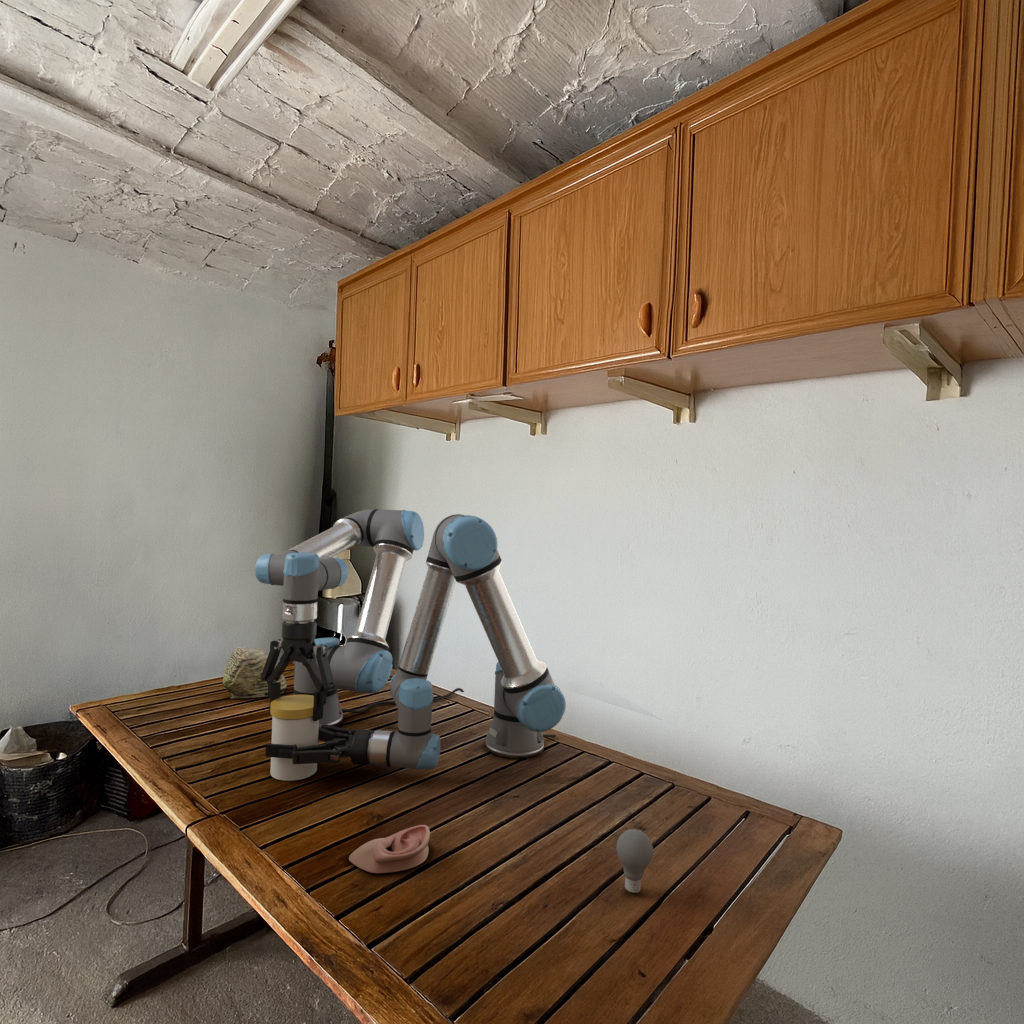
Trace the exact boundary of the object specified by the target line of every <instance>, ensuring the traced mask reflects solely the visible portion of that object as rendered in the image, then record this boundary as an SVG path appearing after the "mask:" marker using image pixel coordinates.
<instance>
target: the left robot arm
mask: <svg viewBox="0 0 1024 1024" xmlns="http://www.w3.org/2000/svg"><path fill="white" fill-rule="evenodd" d="M424 542H425V526H424V522H423V519H422V517H421V515H420V514H419V513H418V512H416V511H414V510H413V511H412V510H406V509H402V510H401V509H382V508H381V509H380V508H366V509H363V510H359V511H357V512H354V513H350V514H348V515H346V516H344V517H342V518H339V519H338V520H336V521H335V522H334V523H333V525H332V527H330V528H328V529H326V530H324V531H322V532H320V533H318V534H316V535H314V536H313V537H310V538H308V539H306V540H305V541H302V542H300V543H298V544H297V545H294V546H292V547H290V548H289V549H287V550H285V551H283V552H281V553H278V554H277V553H276V554H275V553H264V554H262V555H260V556H259V557H258V559H257V560H256V562H255V566H254V576H255V578H256V579H257V581H258V582H259V583H261V584H266V585H270V586H281V587H283V598H282V620H284V621H282V623H281V638H282V639H281V638H277V639H274V640H271V641H270V643H269V652H268V654H267V655H268V657H267V660H266V663H265V666H264V669H263V672H262V674H261V677H260V679H261V680H262V681H266V682H267V684H268V696H267V698H269V707H270V706H271V702H272V701H273V700H275V699H277V698H280V697H281V693H280V691H281V683H279V682H278V683H276V682H277V681H279V678H280V676H281V675H283V673H284V672H285V671H286V669H287V668H288V666H289V664H290V663H291V662H294V672H293V695H312V696H314V705H313V721H318V720H319V727H321V725H323V724H324V725H330V726H335V727H339V726H340V725H342V723H343V722H344V713H351V714H360V713H364V712H366V711H367V710H368V709H370V708H372V707H376V706H381V705H396V703H395V701H394V700H385V701H384V700H383V701H376V702H372V703H370V704H368V705H367V706H365V707H363V708H361V709H350V708H342V706H341V702H340V699H339V695H338V690H339V691H340V690H341V691H347V692H354V693H357V694H358V693H359V694H376V693H378V692H380V691H381V690H382V689H383V688H384V687H385V685H386V684H387V683H388V681H389V679H390V676H391V675H392V670H393V665H394V664H393V655H392V653H391V652H390V651H389V649H390V646H389V644H388V643H387V641H386V638H387V634H388V630H389V626H390V622H391V619H392V614H393V610H394V607H395V603H396V599H397V596H398V592H399V588H400V584H401V580H402V576H403V572H404V568H405V564H406V562H408V561H410V560H411V559H412V557H413V554H414V551H415V552H417V551H420V550H421V549H422V547H423V545H424ZM359 547H369V548H370V547H371V548H372V549H373V551H374V553H375V554H376V555H375V559H374V563H373V567H372V570H371V573H370V577H369V581H368V585H367V587H366V592H365V594H364V598H363V602H362V605H361V610H360V613H359V615H358V620H357V624H356V627H355V630H354V632H353V634H351V635H349V636H348V637H347V639H346V641H345V645H340V644H341V643H340V642H341V641H340V639H339V638H337V637H320V638H319V637H318V638H316V636H317V621H316V619H317V618H318V594H319V593H318V592H321V591H326V590H333V589H336V588H338V587H341V586H343V585H344V584H345V583H346V582H347V580H348V578H349V568H348V565H347V563H346V562H345V561H344V559H342V558H339V557H336V556H337V555H340V554H341V553H342V552H344V551H346V550H347V551H351V550H354V549H356V548H359ZM281 651H283V653H282V655H281V656H280V654H281ZM279 657H280V658H279ZM278 660H279V662H278ZM275 666H276V667H275ZM274 668H275V669H274ZM456 692H461V693H464V692H465V690H464V689H463V688H460V687H456V688H454V689H453V690H452V691H451V692H449V693H447V694H444V695H441V696H438V697H433V701H432V702H437V701H441V700H443V699H446V698H448V697H451V696H452V695H453V694H455V693H456ZM268 709H269V711H268V713H269V714H270V708H268ZM326 730H327V729H326Z"/></svg>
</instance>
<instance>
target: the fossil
mask: <svg viewBox="0 0 1024 1024" xmlns="http://www.w3.org/2000/svg"><path fill="white" fill-rule="evenodd" d="M268 655H269V654H267V653H266V652H265V650H264V649H263V648H260V647H258V648H251V647H247V646H246V647H245V646H238V647H237V648H236V649H235V650H233V651H232V653H231V656H230V657H229V659H228V660H227V663H226V666H225V668H224V671H223V675H222V676H223V677H222V685H223V687H224V688H225V690H226V691H228V693H229V698H230V699H250V698H264V697H268V684H267V682H266V681H262V680H261V679H260V677H261V674H262V672H263V669H264V666H265V663H266V660H267V657H268ZM276 666H277V665H276ZM276 666H275V667H276ZM274 669H275V668H274ZM278 682H279V683H281V691H280V694H284V693H285V691H286V689H287V687H288V686H287V680H286V678H285V676H284V674H282V675H281V676H280V678H279V681H277V682H276V683H278Z"/></svg>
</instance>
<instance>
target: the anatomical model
mask: <svg viewBox="0 0 1024 1024" xmlns="http://www.w3.org/2000/svg"><path fill="white" fill-rule="evenodd" d="M430 838H431V830H430V827H429V826H428V825H427V824H419V825H413V826H411V827H409V828H405V829H403V830H400V831H398V832H396V833H393V834H391V835H389V836H386V837H379V838H375V839H372V840H369V841H367V842H365V843H364V844H362V845H360V846H358V848H356V849H355V850H353V852H352V853H350V855H349V857H348V860H349V862H350V863H351V864H352V865H354V866H356V867H357V868H358V869H361V870H363V871H365V872H367V873H369V874H370V873H371V874H387V873H388V874H389V873H396V872H401V871H405V870H409V869H412V868H415V867H418V866H419V865H421V864H422V863H425V861H426V860H427V859H428V856H429V842H430Z"/></svg>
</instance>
